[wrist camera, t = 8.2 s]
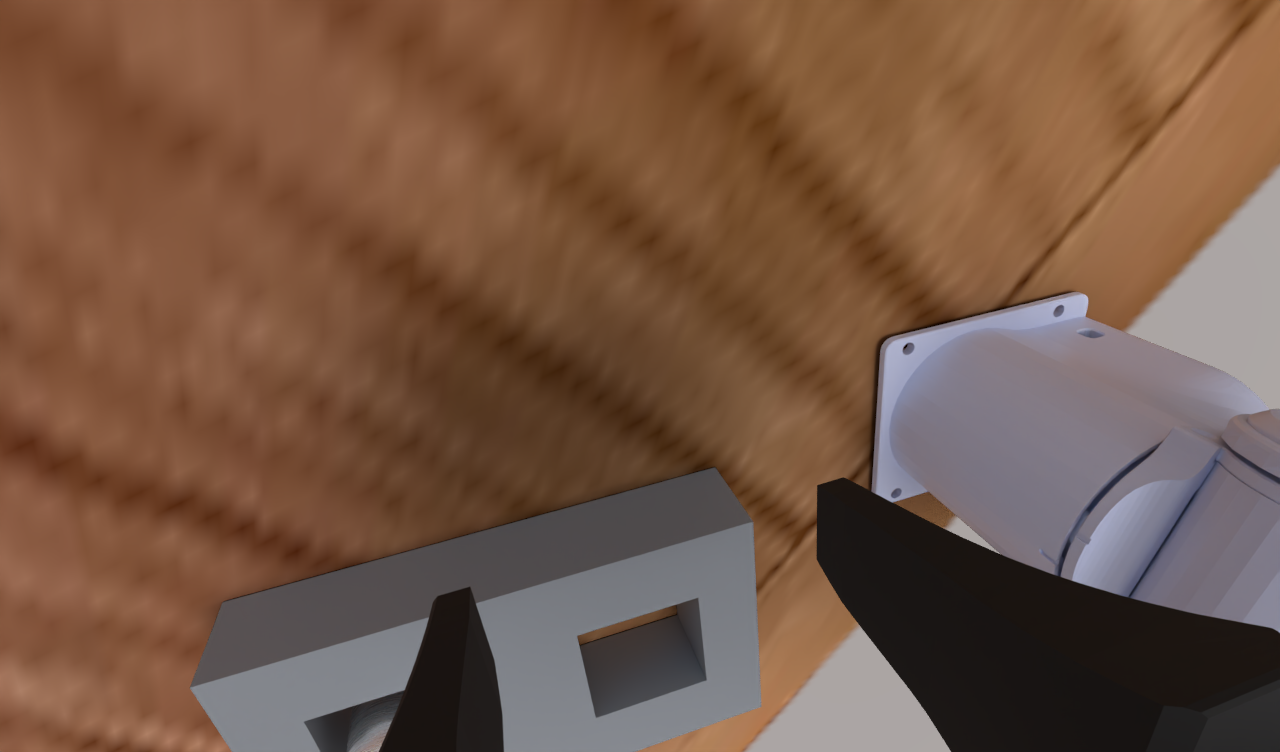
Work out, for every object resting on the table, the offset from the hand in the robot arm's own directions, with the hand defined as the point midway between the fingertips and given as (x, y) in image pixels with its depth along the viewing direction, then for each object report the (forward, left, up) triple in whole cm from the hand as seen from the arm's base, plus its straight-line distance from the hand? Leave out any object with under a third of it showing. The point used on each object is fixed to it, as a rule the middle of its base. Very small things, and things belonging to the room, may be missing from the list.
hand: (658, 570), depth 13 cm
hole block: (+4, +11, -10) cm, 16 cm away
